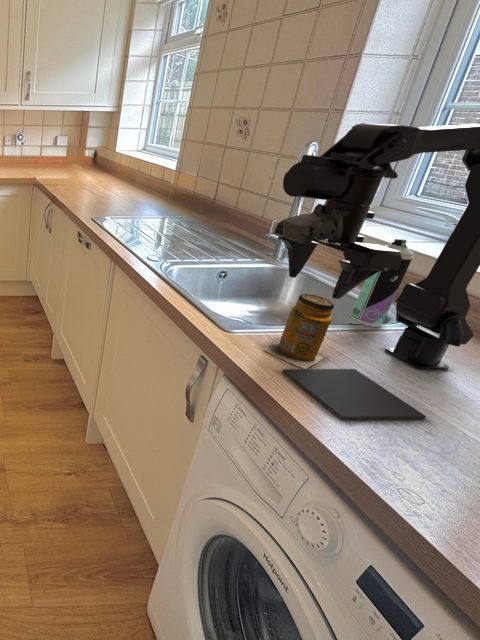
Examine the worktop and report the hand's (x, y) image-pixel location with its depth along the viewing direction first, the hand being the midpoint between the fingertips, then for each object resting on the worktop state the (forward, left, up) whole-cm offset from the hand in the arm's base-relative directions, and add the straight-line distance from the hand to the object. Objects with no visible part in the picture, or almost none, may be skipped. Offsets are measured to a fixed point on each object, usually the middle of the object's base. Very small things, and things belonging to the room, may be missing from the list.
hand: (312, 287), depth 73 cm
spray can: (-32, -15, -16) cm, 38 cm away
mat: (-3, +10, -15) cm, 19 cm away
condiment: (-3, -2, -16) cm, 16 cm away
